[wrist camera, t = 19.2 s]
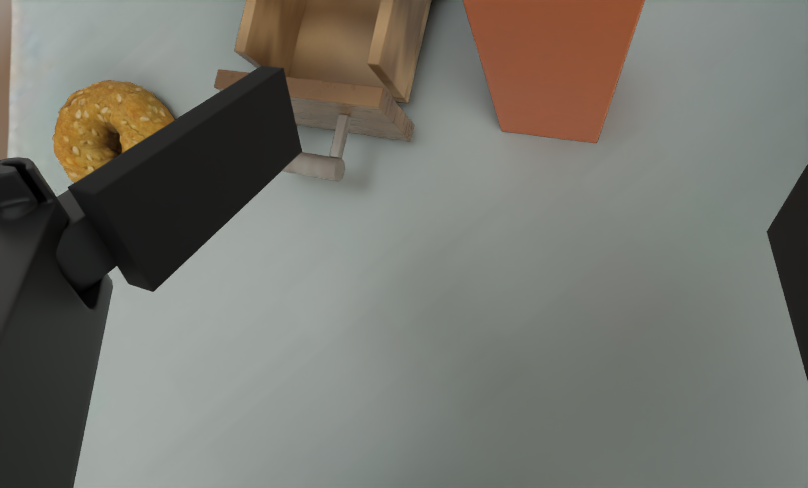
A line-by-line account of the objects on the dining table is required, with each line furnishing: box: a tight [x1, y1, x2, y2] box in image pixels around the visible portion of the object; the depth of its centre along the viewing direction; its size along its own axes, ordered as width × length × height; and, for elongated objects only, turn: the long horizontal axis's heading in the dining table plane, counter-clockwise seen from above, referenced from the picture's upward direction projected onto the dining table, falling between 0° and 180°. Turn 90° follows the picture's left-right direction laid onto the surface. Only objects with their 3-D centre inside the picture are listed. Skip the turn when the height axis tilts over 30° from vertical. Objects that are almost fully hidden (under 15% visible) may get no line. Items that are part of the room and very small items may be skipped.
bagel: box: [52, 80, 175, 183], centre depth 38 cm, size 10×11×5 cm
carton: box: [463, 0, 645, 143], centre depth 22 cm, size 6×5×16 cm
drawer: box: [214, 0, 431, 181], centre depth 31 cm, size 17×11×6 cm
